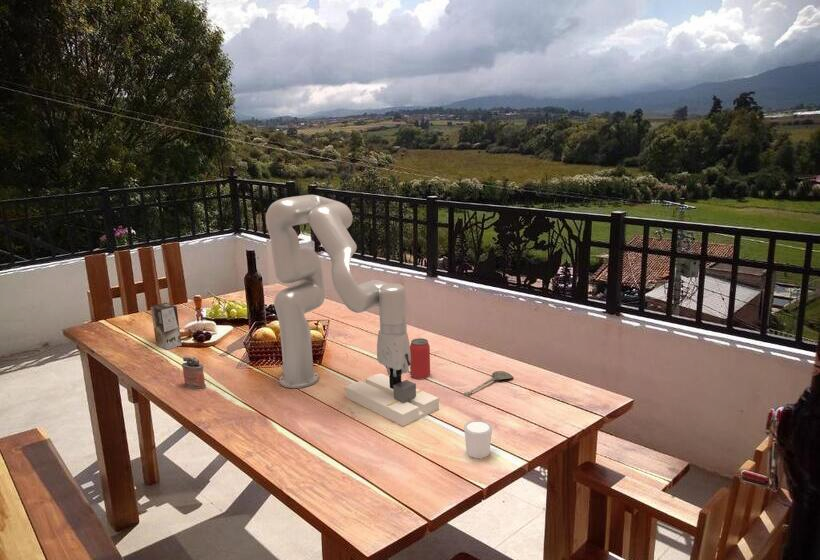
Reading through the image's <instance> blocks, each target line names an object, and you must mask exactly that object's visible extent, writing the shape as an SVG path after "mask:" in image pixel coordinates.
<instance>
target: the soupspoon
mask: <svg viewBox="0 0 820 560" xmlns="http://www.w3.org/2000/svg"><path fill="white" fill-rule="evenodd" d="M491 376H492V378H491V379H488V380H486V381H485V382H483V383H482V384H480V385H478V386H476V387H475V388H473V389H470V390H469V391H467V392H464V393H463V395H464V396H465V395H466V396H465V397H467V396H468V397H469V396H470V395H471V394H472V393H474V392H475V391H477V390H479V389H481V388H483V387H485V386H486V385H487V384H489V383H491V382H494V381H498V380H507V379H508V380H510V379H514V376H513V375H512V374H511V373H509V372H508V371H504V370H497V371H493V372H492V374H491ZM468 397H467V398H468Z"/></svg>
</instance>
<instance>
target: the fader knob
mask: <svg viewBox="0 0 820 560" xmlns="http://www.w3.org/2000/svg"><path fill="white" fill-rule="evenodd" d="M416 388H417V385H416V383H415V382H412V381H410V380H408V379H406V380H401V382H400V383H397V384H395V385H393V389H394V398H395V399H397V400H399V401H401V402H405V401H406V402H408V400H410V399H412V398H414V397H416Z"/></svg>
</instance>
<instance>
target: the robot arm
mask: <svg viewBox="0 0 820 560" xmlns="http://www.w3.org/2000/svg"><path fill="white" fill-rule="evenodd" d="M352 223H353V213H352V211H351V209H350V207H348V205H346V204H345V203H343V202H341V201H339V200H334V199H331V198H327V197H324V196H320V195H317V194H304V195H296V196H290V197H284V198H280V199H278V200H275V201H274V202H272V203H271V204H270V206H268V209H267V211H266V214H265V224H266V228H267V231H268V235H269V238H270V243H271V253H272V260H273V267H274V273H275V277H276V279H277V280H278V281H279V282H280V283H281V284H282V283H283V284H293V283H295V282H299V283H298V284H294V285H290V286H288V287H285V288H283V289H281V290H280V291H278V292H277V294H276V296H275V297H274V302H273V304H274V309H275V312H276V315H277V320H278V326H279V335H280V336H279V337H280V347H281V357H282V364H281V366H280V370H281V369H282V370H283V374H282V375H281V376H280V377H279V378H278V379H279V384H280V385H281V386H282V387H285V388H288V389H301V388H307V387H309V386H312V385H314V384H316V383H317V382H318V381H319V379H320V376H319V373H318V372H316V371H314V360H313V347H312V345H313V344H312V333H311V326H310V323H309V322H308V320H307V318H306V317H305V314H307V313H308V312H312V311H314V310H316V309H318V308H319V307H321V306H322V305H323V304H324V301H325V299H326V298H325V297H326V291H325V283H324V275H323V273H324V272H323V265H322V262H321V259H320V256H319V255H318V254H317V252H316V251H315V250H314V249H311V248H301V247H300V239H299V235H298V233H297V232H296V230H295V229H294V228H293V227H295V226H298V225H303V224H309V227H310V228H311V230H312V231H313V233H314V235H315V236H316V238H317V239H318V241H319V243H320V244H321V246H322V247H323V249H324V250H325V252H326V254H327V255H328V257H329V259H330V261H331V271H330V272H331V278H332V279H331V280H332V283H333V288H334V290H335V292H336V293H337V295H338V296H339V298H340V300H341V301H342V303H343V304H344V305H345V306H346V308H347V309H348V310H350V311H351V312H352V313H359V314H360V313H364V312H366V311H368V310H370V309H373V308H375V307H378V310H379V330H378V335H377V342H376V360H377V362H378V363H379V364H381V365H383V366H384V367H385V368H386V371H387V376H388V375H389V376H388V377H389V381H390V388H391V389H393V385H395V384H397V383H400V382H402V375H403V374H408V373H410V363H411V354H410V345H411V343H410V339H409V335H408V334H409V333H407V331H408V330H407V329H408V327H407V304H406V303H407V302H406V299H407V298H406V288H405V286H404V285H402V284H400V283H390V282H385V281H384V280H380V279H371V280H368V281H365V282H362V283H359V284H358V283H357V281H356V280H355V278H354V276H353V274H352V271H351V268H350V267H351V266H350V265H351V264H350V263H351V260H352V257H353V255H354V254H355V253H356V251H357V249H358V247H357V243H356V241H354V239H353V238H352V236H351V234H350V232H349V231H348V229H349V227H351V225H352Z"/></svg>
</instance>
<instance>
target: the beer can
mask: <svg viewBox="0 0 820 560" xmlns="http://www.w3.org/2000/svg"><path fill="white" fill-rule="evenodd" d="M430 351H431V349H430V343H429V340H428V339H427V338H426V339H425V338H420V337H419V338H413V339H412V340H411V341H410V354H411V363H410V366H409V373H410V374H409V375H410V376H411V378H413V379H417V380H418V379H419V380H423V378H424V379H427V378H429V377H430V376H431V352H430Z"/></svg>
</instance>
